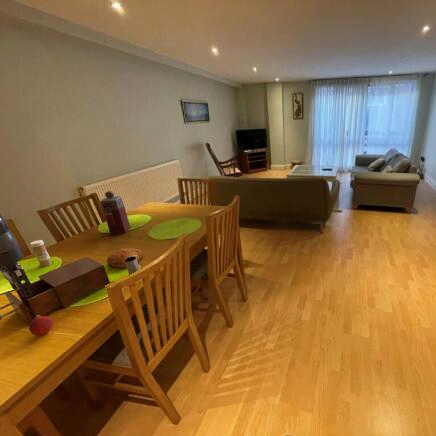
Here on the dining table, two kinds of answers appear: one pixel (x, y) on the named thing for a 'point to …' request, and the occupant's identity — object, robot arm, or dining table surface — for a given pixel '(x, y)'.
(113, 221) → the maroon canister
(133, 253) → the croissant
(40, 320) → the onion
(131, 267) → the planter
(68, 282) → the cabinet
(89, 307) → the dining table surface
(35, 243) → the sprinkles bottle
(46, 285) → the drawer
